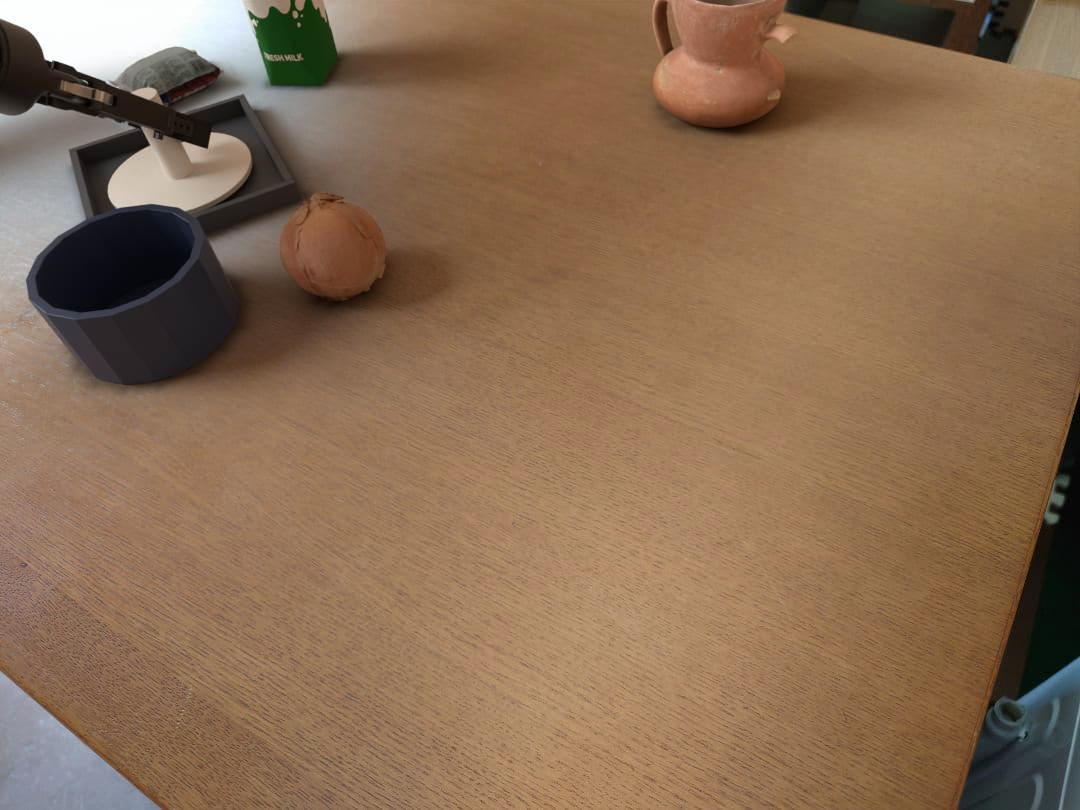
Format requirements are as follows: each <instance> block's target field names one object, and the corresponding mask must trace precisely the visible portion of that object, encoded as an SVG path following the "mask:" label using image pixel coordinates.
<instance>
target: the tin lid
mask: <svg viewBox="0 0 1080 810" xmlns="http://www.w3.org/2000/svg"><path fill="white" fill-rule="evenodd" d="M132 94H135V95H137V96H140V97H143V98H145V99H148V100H151V101H153V102H156V103H159V104H161V105H163V103H162V101H161V99H160V97H159V95H158V93H157V91H156V90H155V89H154V88H142V89H138V90H136V91H133V92H132ZM141 128H142V130H143V132H144V134H145V136H146V138H147V140H148V142H149V143H150V146H148V147H146V148H144V149H142V150H141V151H139V152H137V153H136V154H134V155H133V156H131V157H130V158H129V159H127V160H126V161H125V162H124V163H123V164H122V165H121V166H120V167H119V168H118V169H117V170H116V171H115V173H114V174H113V176H112V177H111V179H110V182H109V185H108V196H109V198H110V201H111V202H112V204H113V205H114V207H115V208H116V209H117V208H121V207H129V206H137V205H145V204H157V205H164V206H171V207H178V208H180V209H182V210H184V211H185V212H187V213H188V214H190V215H191V214H194V213H197V212H200V211H203V210H205V209H208V208H210V207H212V206H214V205H216V204H218V203H219V202H221V201H223V200H225V199H226V198H227V197H229V196H230V195H232V194H233V193H234V192H235V191H237V190H238V189H239V188H240V187H241V186H242V185H243V183H244V182H245V181H246V179H247V178H248V176H249V174H250V172H251V169H252V165H253V160H252V155H251V153H250V150H249V148H248V147H247V146H246V145H245V144H244V143H243V142H242V141H241V140H239V139H237V138H235V137H233V136H230V135H226V134H221V133H211V135H210V140H209V146H208V149H206V148H202V147H199V146H196V145H193V144H189V143H186V142H181V141H180V140H177V139H174V138H171V137H168V136H163V140H159V139H155V138H153V134H154V130H152V129H148V128H145V127H142V126H141Z"/></svg>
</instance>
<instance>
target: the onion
mask: <svg viewBox="0 0 1080 810" xmlns="http://www.w3.org/2000/svg"><path fill="white" fill-rule="evenodd" d="M344 199H345V197H344V196H340V195H336V194H334V193H333V194H330V193H329V192H328V191H326V192H322V191H320V192H315V193H313V194H312V195H311V197H310V198H309V199H307V200H303V201H302V205H301V206H300V207H299V208H298V210H297V211H296V212H294V213H293V214H292V216H291V217H290V218H289V219H288V220H287V222H286V224H285V225H284V226H283V229H282V231H281V233H280V237H279V248H278V249H279V257H280V261H281V264H282V266H283V268H284V271H285V272H286V273H287V275H288V276H289V277H290V279H291V280H292V281H293V282H294V283H295V284H296V285H297V286H298V287H300V288H301V289H303V290H304V291H306V292H307V293H310V294H312V295H315V296H318V297H320V298H321V299H323V300H324V301H327V302H343V301H344V302H345V301H348V300H350V299H353V298H356V297H359V296H360V295H361V294H362V293H363V292H368V291H370V289H371V287H372V285H373V283H374V282H375V281H376V279H377V280H378V279H382V278H383V275H384V273H385V269H386V266H387V264H385V262H386V257H387V256H386V253H387V245H386V239H385V237H384V234H383V231H382V229H381V227H380V226H379V224H378V222H377V221H376V220H375V218H374V217H373V216H372V215H371V214H370V213H369V212H368V211H366V209H364V208H362V207H361V206H359V205H357V204H355V203H351V202H347V201H343V200H344Z"/></svg>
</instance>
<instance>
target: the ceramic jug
mask: <svg viewBox="0 0 1080 810" xmlns="http://www.w3.org/2000/svg"><path fill="white" fill-rule="evenodd" d="M787 1H788V0H654V2H653V8H652V14H651V15H652V16H651V21H652V23H651V24H652V29H653V34H654V37H655V40H656V44H657V46H658V49H659V53H660V56H661V60H660V62H659V63H658V65H657V66H656V68H655V71H654V73H653V78H652V89H653V93H654V96H655V98H656V100H657V101H658V103H659V104H660V105H661V107H662V108H663V109H664V110H665V111H666V112H667V113H669V114H670V115H672V117H674V118H676V119H678V120H680V121H683V122H684V123H687V124H691V125H693V126H698V127H703V128H704V127H705V128H713V129H714V128H715V129H717V128H718V129H721V128H723V129H724V128H732V127H737V126H741V125H744V124H748V123H751V122H754V121H756V120H758V119H760V118H761V117H763V116H765V115H766V114H768V113H769V112H771V111H772V110H773V109H774V108H775V107H776V106H777V105H778V104H779V101H780V99H781V97H782V96H783V94H784V91H785V88H786V72H785V68H784V67H783V65H782V63H781V61H780V60H779V58H778V56H775V54H774V53H773V52H771V51H770V50H769V49H768V48H766V47H765V46H764V44H765V43H766V42H767V41H769V40H776V41H777V42H778V43H779V44H780V45H781V46H783V47H786V46H787V45H788V44H789V42H790V41H791V40H793V39H794V38H795V37H797V36H798V32H797V30H795V29H794V27H792V26H789V25H787V24H783V23H778V24H777V21H778V19H780V17H781V15H782V13H783V11H784V9H785V6H786V4H787ZM668 4H669V5H670V6H671V10H672V16H673V19H674V23H675V26H676V30H677V34H678V37H679V39H680V41H681V44H680V45H678V46H676V47H675V48H674V46H673V43H672V42H673V41H672V39H671V32H670V28H669V21H668V14H667V13H668Z"/></svg>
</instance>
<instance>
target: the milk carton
mask: <svg viewBox="0 0 1080 810" xmlns="http://www.w3.org/2000/svg"><path fill="white" fill-rule="evenodd" d="M241 2H242V4H243V7H244V10H245V12H246V16H247V18H248V20H249V24H250V26H251V29H252V32H253V34H254V38H255V40H256V42H257V45H258V49H259V52H260V54H261V58H262V62H263V64H264V68H265V71H266V74H267V78H268V81H269V84H270V86H273V87H274V86H275V87H279V86H280V87H281V86H282V87H283V86H284V87H285V86H286V87H287V86H288V87H295V86H296V87H321V86H323V85H324V84H325V82H326V81H327V79H328V77H329V75H330V73H331V72H332V70H333V69H334V67H335V65H336V63H337V62H338V60H339V53H338V51H337V46H336V42H335V38H334V34H333V30H332V27H331V23H330V19H329V15H328V13H327V9H326V6H325V2H324V0H241Z"/></svg>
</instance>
